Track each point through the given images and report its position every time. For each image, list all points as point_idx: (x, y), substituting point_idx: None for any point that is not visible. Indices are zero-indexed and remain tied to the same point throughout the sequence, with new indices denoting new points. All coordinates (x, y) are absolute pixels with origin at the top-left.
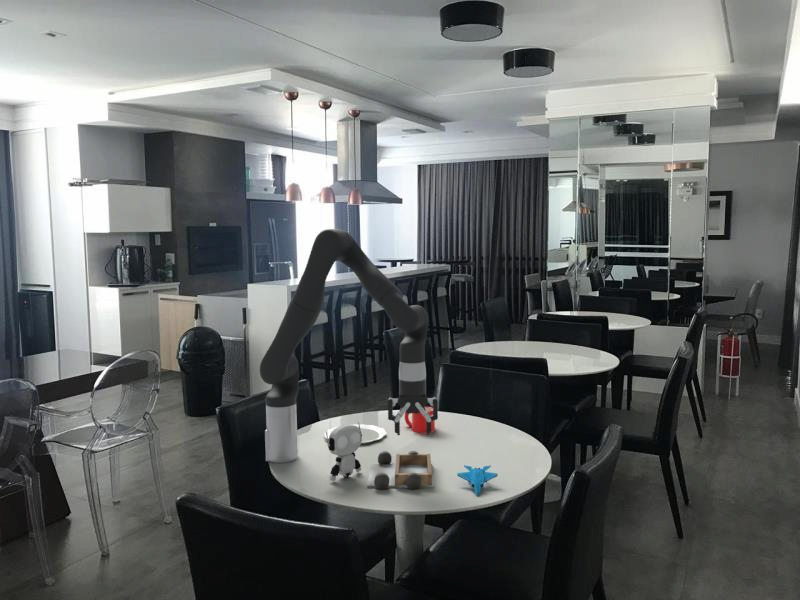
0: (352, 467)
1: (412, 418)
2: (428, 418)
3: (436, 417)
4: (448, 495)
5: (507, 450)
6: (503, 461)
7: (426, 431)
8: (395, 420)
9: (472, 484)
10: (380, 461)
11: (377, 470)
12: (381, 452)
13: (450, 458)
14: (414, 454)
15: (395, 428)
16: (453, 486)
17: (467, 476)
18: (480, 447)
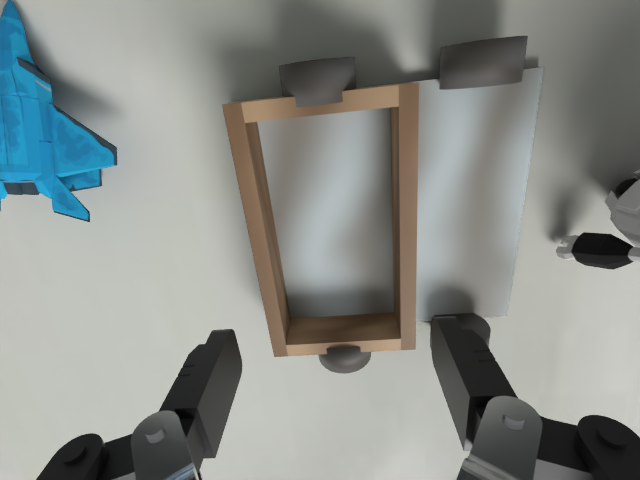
0: (635, 190)
1: None
2: (154, 447)
3: (62, 460)
4: (147, 4)
5: None
6: (47, 369)
7: (222, 345)
8: (527, 413)
9: (30, 66)
10: (474, 320)
11: (484, 254)
12: None
13: None
14: (338, 347)
15: (486, 357)
16: (152, 124)
17: (67, 140)
18: None
